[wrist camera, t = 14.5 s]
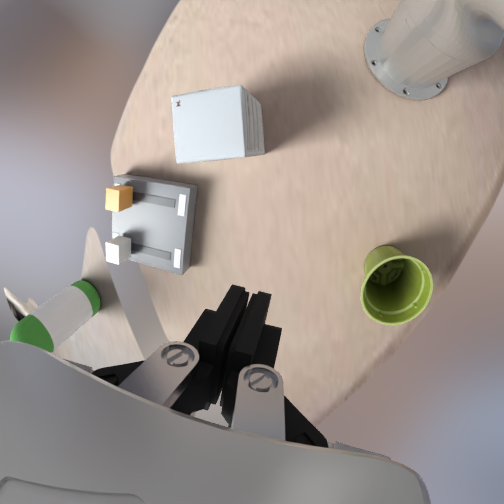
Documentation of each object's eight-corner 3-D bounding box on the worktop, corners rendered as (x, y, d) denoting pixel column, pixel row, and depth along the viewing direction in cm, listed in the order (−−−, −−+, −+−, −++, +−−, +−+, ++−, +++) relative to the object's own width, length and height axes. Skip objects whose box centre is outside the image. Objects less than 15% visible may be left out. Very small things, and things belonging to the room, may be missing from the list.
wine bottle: (98, 280, 51) (-15, 368, 23) (106, 314, 54) (9, 408, 26) (72, 276, 52) (-34, 351, 25) (80, 308, 55) (-13, 389, 27)
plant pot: (382, 305, 41) (394, 337, 33) (339, 269, 41) (344, 297, 33) (424, 261, 38) (446, 287, 30) (383, 220, 37) (400, 239, 29)
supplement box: (213, 159, 39) (173, 165, 27) (210, 108, 37) (168, 94, 25) (266, 156, 38) (245, 159, 26) (263, 102, 35) (241, 82, 24)
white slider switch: (118, 235, 42) (105, 242, 39) (131, 238, 42) (118, 245, 39) (119, 253, 43) (106, 260, 40) (131, 256, 43) (118, 264, 40)
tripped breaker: (120, 184, 39) (106, 188, 36) (133, 186, 39) (119, 190, 36) (119, 204, 40) (105, 209, 37) (132, 206, 40) (118, 212, 37)
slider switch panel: (124, 174, 42) (113, 176, 40) (198, 185, 41) (189, 188, 38) (122, 249, 47) (112, 255, 44) (189, 267, 46) (181, 275, 43)
